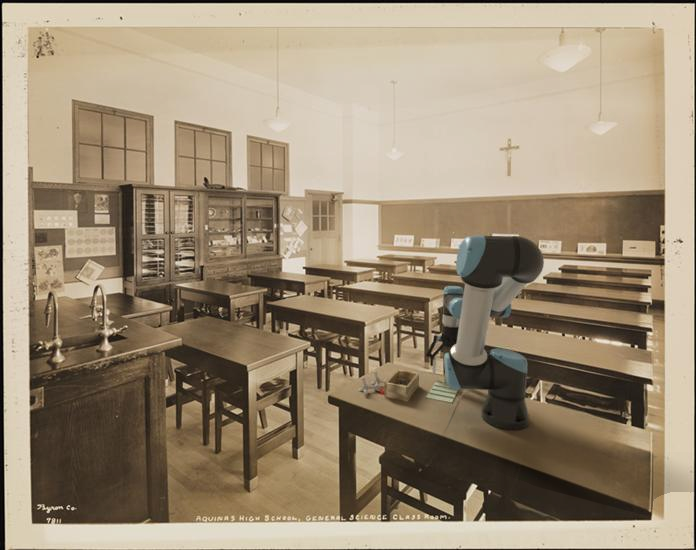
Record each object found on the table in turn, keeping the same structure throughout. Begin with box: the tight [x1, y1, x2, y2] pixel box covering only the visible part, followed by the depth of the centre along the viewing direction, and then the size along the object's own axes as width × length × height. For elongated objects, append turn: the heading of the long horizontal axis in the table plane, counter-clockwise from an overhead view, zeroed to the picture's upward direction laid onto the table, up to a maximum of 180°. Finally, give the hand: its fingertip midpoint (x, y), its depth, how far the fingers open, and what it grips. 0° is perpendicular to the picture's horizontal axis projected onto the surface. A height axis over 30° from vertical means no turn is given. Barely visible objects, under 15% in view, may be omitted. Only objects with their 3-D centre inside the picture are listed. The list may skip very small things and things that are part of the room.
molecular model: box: [357, 370, 388, 395], centre depth 158 cm, size 14×8×10 cm
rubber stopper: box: [400, 379, 406, 385], centre depth 161 cm, size 2×2×3 cm
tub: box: [383, 369, 420, 403], centre depth 157 cm, size 9×15×6 cm, turn 155°
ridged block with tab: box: [425, 373, 460, 404], centre depth 159 cm, size 10×22×5 cm, turn 155°
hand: (449, 376), depth 166 cm, fingers open, 12 cm apart
